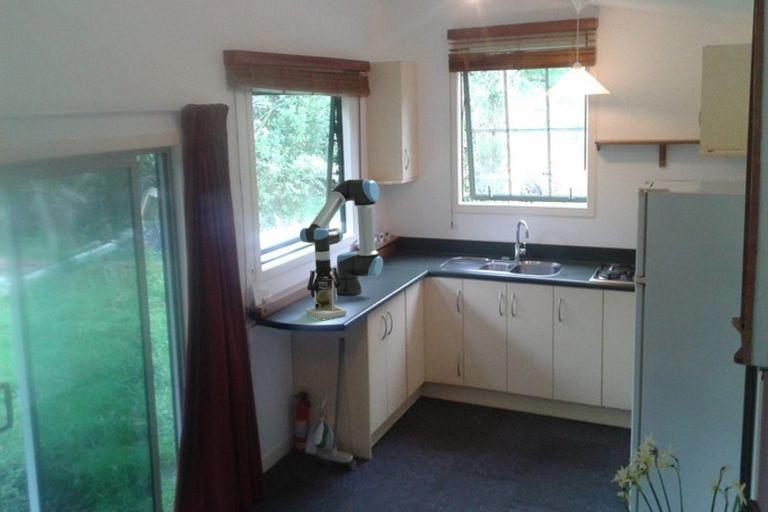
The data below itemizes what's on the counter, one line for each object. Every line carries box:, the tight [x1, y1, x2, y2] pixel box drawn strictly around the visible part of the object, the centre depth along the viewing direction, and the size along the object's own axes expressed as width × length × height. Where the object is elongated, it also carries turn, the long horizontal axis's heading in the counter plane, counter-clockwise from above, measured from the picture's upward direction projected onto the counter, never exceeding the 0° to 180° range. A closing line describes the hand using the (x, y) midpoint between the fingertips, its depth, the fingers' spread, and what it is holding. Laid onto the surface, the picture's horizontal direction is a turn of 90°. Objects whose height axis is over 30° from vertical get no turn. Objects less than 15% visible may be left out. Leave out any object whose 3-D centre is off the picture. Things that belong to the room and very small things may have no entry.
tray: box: [305, 304, 347, 321], centre depth 378 cm, size 15×15×3 cm
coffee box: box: [314, 277, 336, 311], centre depth 376 cm, size 9×6×16 cm
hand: (325, 301), depth 377 cm, fingers closed on coffee box, 11 cm apart
